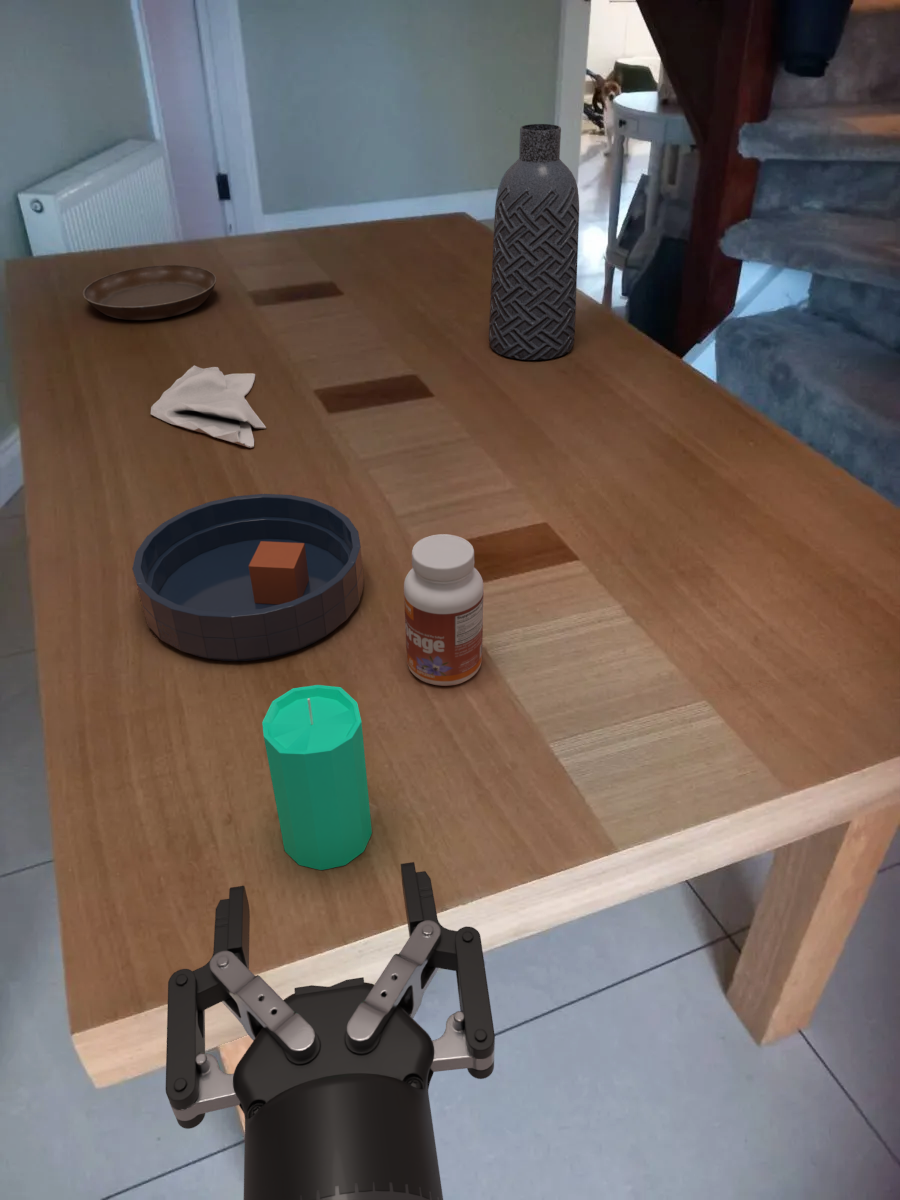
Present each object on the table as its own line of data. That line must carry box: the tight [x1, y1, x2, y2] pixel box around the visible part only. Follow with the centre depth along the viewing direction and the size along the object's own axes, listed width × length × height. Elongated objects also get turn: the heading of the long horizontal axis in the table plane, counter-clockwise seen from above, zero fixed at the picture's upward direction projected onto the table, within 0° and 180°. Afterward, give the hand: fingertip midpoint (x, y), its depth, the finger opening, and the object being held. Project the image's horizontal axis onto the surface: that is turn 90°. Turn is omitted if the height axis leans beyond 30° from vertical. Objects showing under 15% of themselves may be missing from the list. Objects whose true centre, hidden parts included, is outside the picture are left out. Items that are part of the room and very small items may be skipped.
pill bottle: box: [403, 533, 485, 687], centre depth 72 cm, size 6×6×11 cm
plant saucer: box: [82, 264, 217, 321], centre depth 147 cm, size 21×21×3 cm
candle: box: [261, 684, 373, 871], centre depth 58 cm, size 6×6×12 cm
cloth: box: [150, 364, 267, 449], centre depth 115 cm, size 26×14×2 cm, turn 13°
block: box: [249, 541, 309, 605], centre depth 81 cm, size 4×4×4 cm
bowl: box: [132, 493, 365, 662], centre depth 82 cm, size 19×19×5 cm
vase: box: [488, 123, 580, 361], centre depth 123 cm, size 12×12×28 cm
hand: (324, 884), depth 47 cm, fingers open, 8 cm apart
